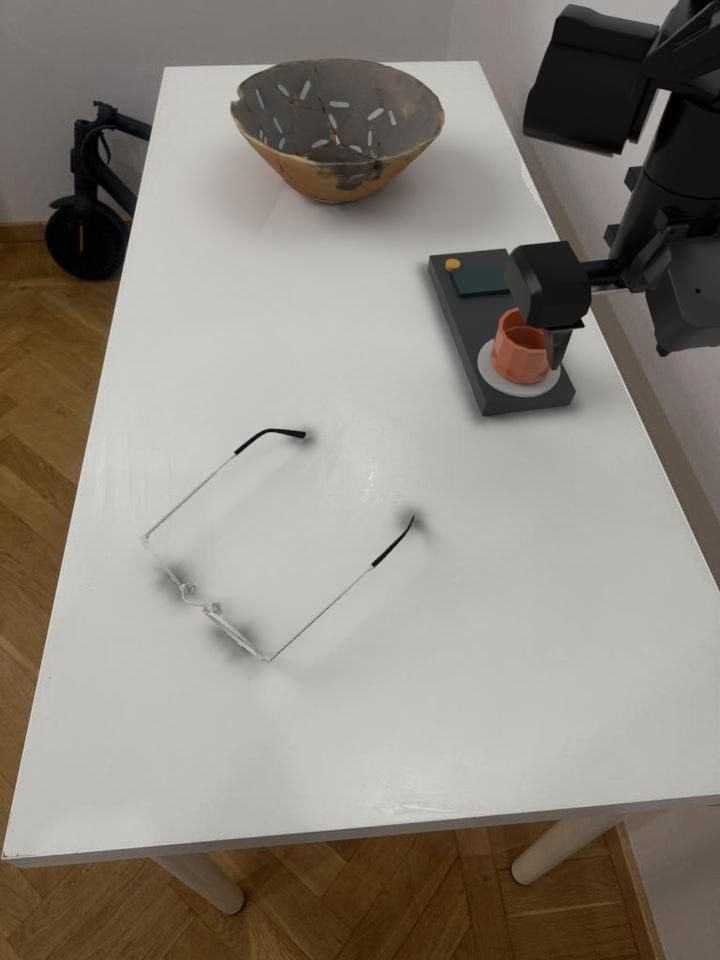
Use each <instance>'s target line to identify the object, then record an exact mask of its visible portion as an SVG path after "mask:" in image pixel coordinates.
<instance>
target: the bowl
mask: <svg viewBox="0 0 720 960" xmlns="http://www.w3.org/2000/svg"><path fill="white" fill-rule="evenodd" d="M236 94H237V96H238V98H239V99H237V100H231V101H230V103H229V112H230V115H231V117H232V119H233V122H234V124H235V126H236V128H237V130H238V131H239V134H240V135H241V136H242V137H243V138H244V139H245V140H246V141H247V142H248V144H249V145H250V146H251V147H252V148H253V149H254V150H255V152H256V153H257V154H259V156H260V157H261V158H262V159H263V160H264V161H265V162H266V163H267V165H269V166H270V167H271V168H272V169H273V170H274V171H275V172H276V173H277V174H278V175H279V176H280V177H281V178H282V180H283V181H284V183H286V184H287V185H288V186H289V187H290V188H291V189H293V190H294V191H295V192H297V193H299V194H300V195H302V196H304V197H306V198H308V199H310V200H312V201H314V202H317V203H318V202H319V203H324V204H332V205H334V204H335V205H337V204H342V203H347V202H354V201H358V200H361V199H363V198H367V197H368V196H370V195H372V194H375V193H376V192H378V191H379V190H381V189H382V188H383V187H385V186H386V185H388V184H389V183H390V182H392V181H393V180H394V179H396V178H397V177H398V176H399V175H400V174H401V173H402V172H403V171H404V170H406V168H407V167H408V166H409V165H411V164H412V163H413V162H414V161H415V160H416V159H417V158H418V157H419V156H420V155H422V153H424V151H425V150H426V149H427V148H428V147H429V146H430V145H431V144H432V143H433V142H434V141H435V140H436V139H437V138H439V136H440V135H441V133H442V130H443V127H444V125H445V120H446V115H445V114H446V113H445V110H444V108H443V106H442V103H441V100H440V98H439V96H438V95H437V94H436V93H435V92H434V91H432V89H431V88H430V87H429V86H428V85H427V84H425V82H423V81H421V80H420V79H418V78H417V77H415V76H414V75H412V74H411V73H408V72H406V71H404V70H401V69H398V68H397V67H393V66H391V65H386V64H383V63H381V62H376V61H371V60H363V59H356V58H343V57H342V58H341V57H333V58H332V57H331V58H328V57H327V58H317V59H312V58H304V59H303V58H302V59H297V60H296V59H295V60H290V61H289V60H288V61H283V62H280V63H278V64H274V65H272V66H269V67H268V68H266V69H263V70H260V71H257V72H255V73H254V74H251V75H250V76H248V77H247V78H245V79H244V80H242V81H241V83H240V84H239V85H238V86H237V88H236ZM337 139H338V141H339V143H337Z"/></svg>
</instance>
